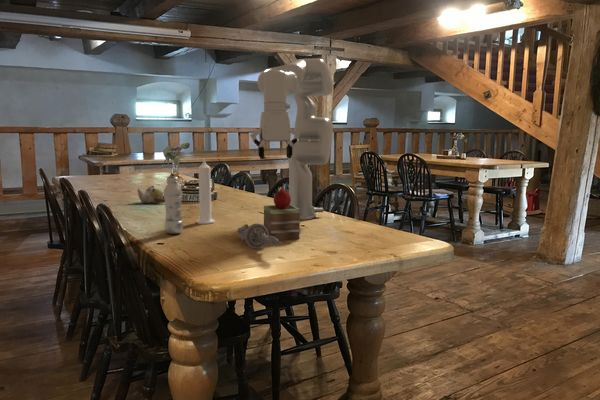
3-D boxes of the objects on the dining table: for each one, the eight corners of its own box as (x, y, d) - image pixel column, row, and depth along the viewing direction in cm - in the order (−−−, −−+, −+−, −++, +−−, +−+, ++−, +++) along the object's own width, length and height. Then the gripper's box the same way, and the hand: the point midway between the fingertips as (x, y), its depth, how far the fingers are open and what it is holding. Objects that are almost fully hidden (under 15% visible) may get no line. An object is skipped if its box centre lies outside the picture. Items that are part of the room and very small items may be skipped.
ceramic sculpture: (139, 183, 244) (170, 185, 247) (138, 201, 246) (170, 202, 249) (136, 186, 234) (169, 188, 237) (135, 205, 235) (168, 206, 238)
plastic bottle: (167, 236, 171) (165, 178, 168) (162, 232, 177) (160, 176, 174) (185, 234, 174) (184, 177, 171) (181, 230, 180) (179, 175, 177)
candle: (210, 224, 191) (209, 159, 187) (193, 223, 192) (191, 159, 189) (217, 221, 198) (216, 158, 194) (200, 220, 199) (199, 157, 195)
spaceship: (261, 236, 136) (285, 223, 139) (224, 225, 168) (244, 215, 171) (272, 261, 138) (296, 248, 141) (233, 246, 170) (253, 235, 173)
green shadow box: (291, 232, 178) (291, 204, 176) (300, 239, 167) (300, 209, 166) (263, 234, 175) (263, 205, 173) (271, 241, 164) (271, 210, 163)
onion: (284, 212, 166) (284, 189, 165) (270, 211, 169) (270, 187, 168) (293, 210, 171) (294, 187, 170) (280, 208, 174) (280, 186, 173)
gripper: (295, 108, 175) (295, 156, 178) (247, 107, 169) (248, 158, 172) (302, 107, 168) (302, 158, 171) (252, 107, 162) (253, 160, 165)
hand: (275, 158), depth 172 cm, fingers open, 9 cm apart
